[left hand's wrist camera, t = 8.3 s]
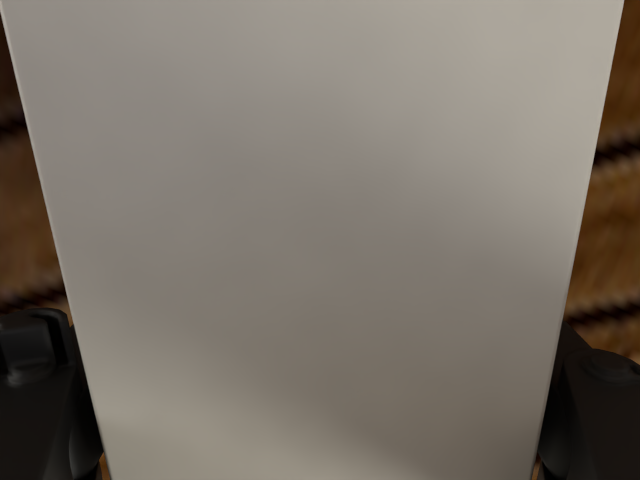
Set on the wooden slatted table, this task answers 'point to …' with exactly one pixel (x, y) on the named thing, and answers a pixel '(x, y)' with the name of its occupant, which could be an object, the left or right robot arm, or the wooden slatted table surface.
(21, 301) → the wooden slatted table surface
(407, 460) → the post
